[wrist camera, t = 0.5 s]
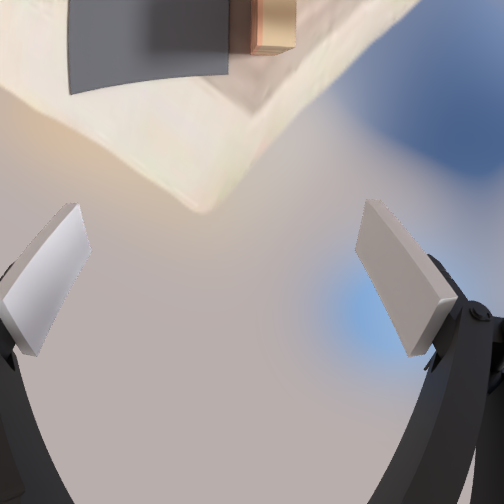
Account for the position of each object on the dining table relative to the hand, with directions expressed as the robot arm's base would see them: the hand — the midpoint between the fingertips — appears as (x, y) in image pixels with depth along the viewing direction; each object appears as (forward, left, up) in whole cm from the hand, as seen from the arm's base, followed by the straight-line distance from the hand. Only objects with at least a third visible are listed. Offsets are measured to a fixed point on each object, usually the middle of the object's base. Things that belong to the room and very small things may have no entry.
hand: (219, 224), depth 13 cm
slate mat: (-15, -10, -25) cm, 31 cm away
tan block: (-13, +4, -25) cm, 29 cm away
